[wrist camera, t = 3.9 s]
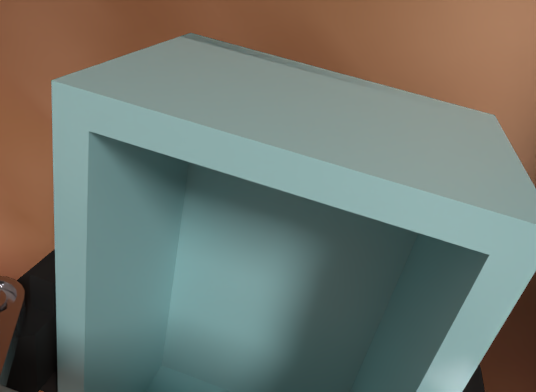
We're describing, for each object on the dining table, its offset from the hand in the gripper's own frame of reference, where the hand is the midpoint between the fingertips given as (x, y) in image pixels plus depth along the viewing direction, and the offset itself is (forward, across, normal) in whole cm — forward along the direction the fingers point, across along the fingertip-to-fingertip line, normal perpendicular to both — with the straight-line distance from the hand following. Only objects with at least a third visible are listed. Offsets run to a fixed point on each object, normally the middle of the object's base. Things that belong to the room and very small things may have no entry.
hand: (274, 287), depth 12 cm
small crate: (+1, 0, 0) cm, 1 cm away
